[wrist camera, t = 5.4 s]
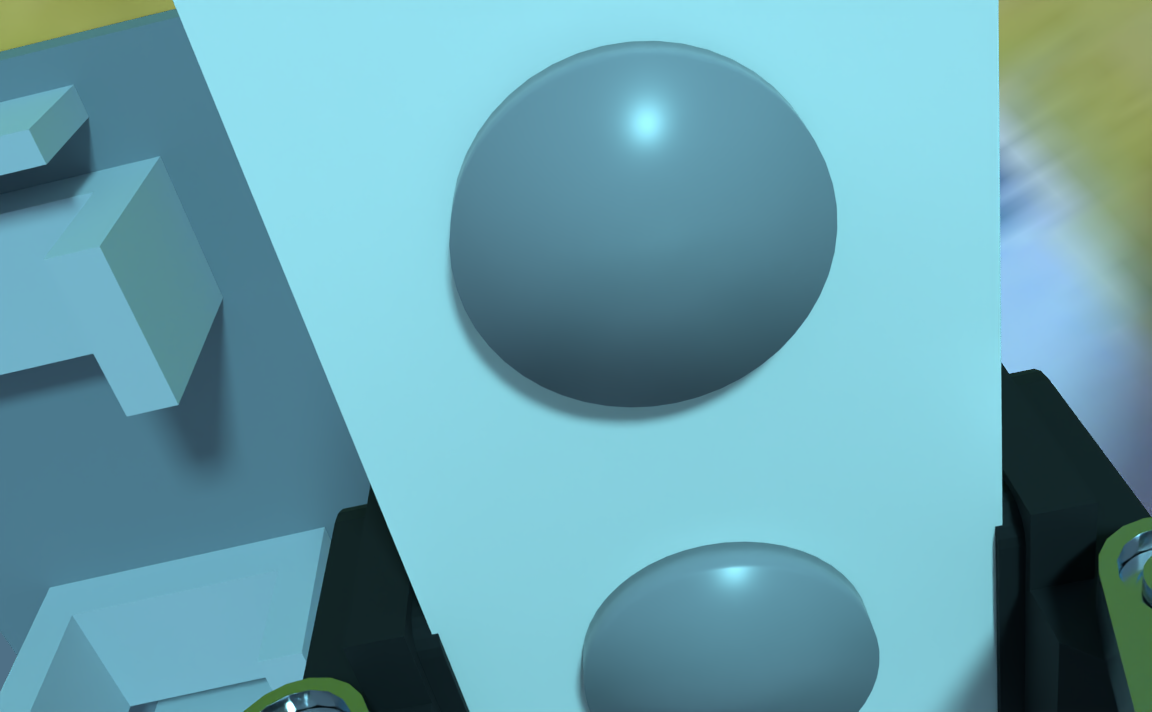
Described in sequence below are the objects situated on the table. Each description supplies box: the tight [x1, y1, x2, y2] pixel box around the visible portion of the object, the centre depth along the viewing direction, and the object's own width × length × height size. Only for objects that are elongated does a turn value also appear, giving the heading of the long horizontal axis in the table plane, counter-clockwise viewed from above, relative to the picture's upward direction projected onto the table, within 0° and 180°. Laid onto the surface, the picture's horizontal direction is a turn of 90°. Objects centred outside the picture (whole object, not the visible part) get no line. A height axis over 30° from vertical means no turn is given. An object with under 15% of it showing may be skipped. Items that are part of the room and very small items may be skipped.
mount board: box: [0, 9, 370, 712], centre depth 29 cm, size 13×22×6 cm, turn 12°
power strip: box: [173, 0, 1002, 712], centre depth 11 cm, size 5×16×5 cm, turn 12°
